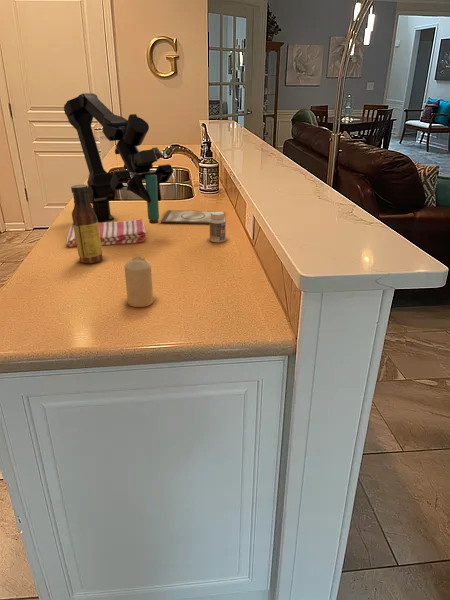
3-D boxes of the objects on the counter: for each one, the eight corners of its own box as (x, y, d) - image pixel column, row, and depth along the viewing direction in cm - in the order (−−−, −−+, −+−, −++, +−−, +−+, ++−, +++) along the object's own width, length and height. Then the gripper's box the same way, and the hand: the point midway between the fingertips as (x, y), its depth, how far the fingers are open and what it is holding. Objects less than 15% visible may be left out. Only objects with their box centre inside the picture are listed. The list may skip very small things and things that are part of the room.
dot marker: (146, 221, 139) (143, 175, 133) (157, 220, 141) (154, 174, 135) (150, 224, 137) (147, 177, 131) (161, 223, 138) (158, 175, 132)
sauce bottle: (107, 257, 128) (99, 184, 120) (94, 265, 123) (85, 189, 114) (87, 255, 130) (77, 182, 122) (73, 262, 125) (62, 187, 116)
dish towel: (147, 242, 140) (146, 231, 139) (65, 247, 136) (64, 236, 134) (143, 226, 155) (142, 215, 154) (70, 230, 151) (68, 220, 149)
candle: (129, 297, 106) (125, 254, 101) (153, 296, 106) (151, 254, 102) (126, 307, 101) (122, 263, 96) (152, 307, 101) (149, 263, 97)
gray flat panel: (160, 223, 158) (160, 221, 158) (168, 211, 172) (168, 209, 172) (220, 224, 157) (220, 222, 157) (222, 212, 171) (222, 210, 170)
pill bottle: (223, 243, 140) (223, 215, 136) (208, 242, 141) (207, 214, 137) (226, 238, 144) (227, 211, 140) (211, 237, 145) (211, 210, 141)
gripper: (110, 140, 126) (135, 189, 123) (168, 135, 137) (192, 179, 134) (100, 167, 135) (123, 212, 132) (155, 160, 146) (177, 202, 143)
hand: (155, 201), depth 135 cm, fingers closed on dot marker, 3 cm apart
